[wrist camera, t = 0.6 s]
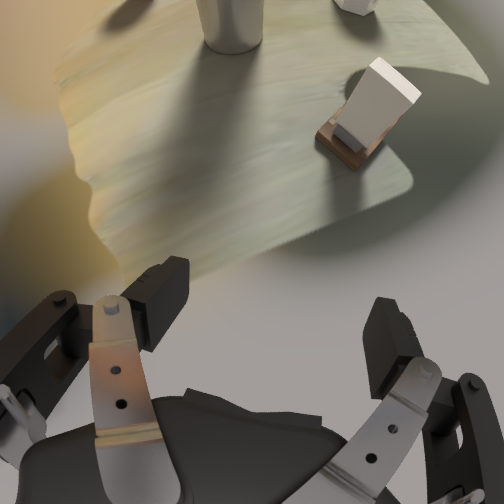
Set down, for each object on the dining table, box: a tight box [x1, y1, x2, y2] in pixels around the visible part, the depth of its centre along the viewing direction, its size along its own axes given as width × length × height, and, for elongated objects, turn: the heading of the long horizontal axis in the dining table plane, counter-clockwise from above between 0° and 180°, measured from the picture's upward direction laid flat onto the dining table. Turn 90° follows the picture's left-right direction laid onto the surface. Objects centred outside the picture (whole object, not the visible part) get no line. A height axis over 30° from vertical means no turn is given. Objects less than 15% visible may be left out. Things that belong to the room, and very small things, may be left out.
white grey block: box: [332, 57, 421, 153], centre depth 25 cm, size 3×5×14 cm, turn 48°
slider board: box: [315, 102, 404, 171], centre depth 34 cm, size 14×7×2 cm, turn 138°
